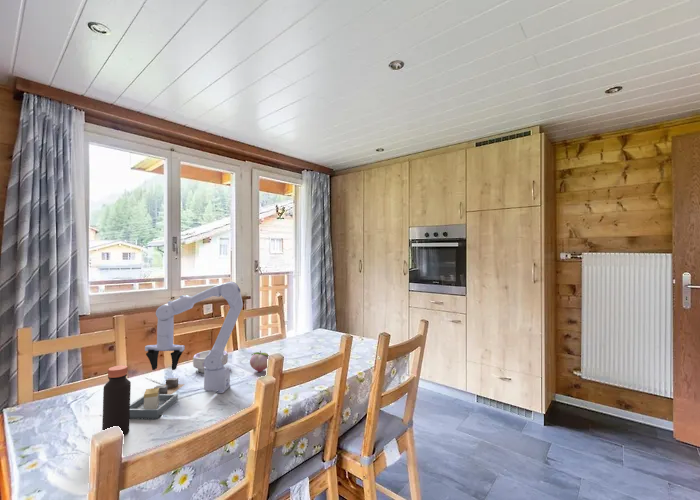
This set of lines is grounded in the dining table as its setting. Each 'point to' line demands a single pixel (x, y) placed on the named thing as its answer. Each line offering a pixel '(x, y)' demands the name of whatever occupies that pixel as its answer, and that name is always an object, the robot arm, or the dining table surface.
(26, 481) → the dining table surface
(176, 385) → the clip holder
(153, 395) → the white and tan block
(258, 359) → the decorative fruit
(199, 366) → the white bowl
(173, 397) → the tray
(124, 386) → the bottle
